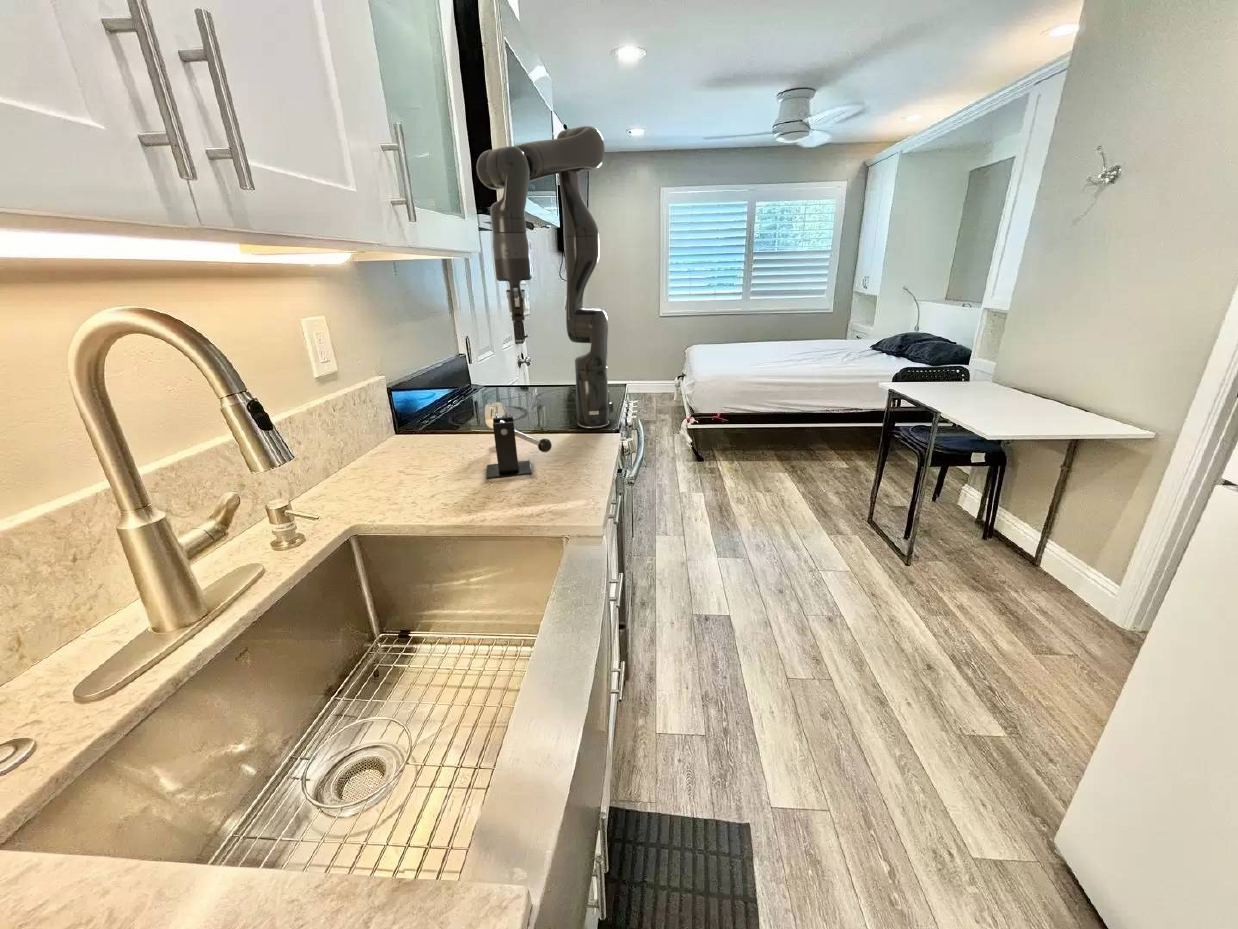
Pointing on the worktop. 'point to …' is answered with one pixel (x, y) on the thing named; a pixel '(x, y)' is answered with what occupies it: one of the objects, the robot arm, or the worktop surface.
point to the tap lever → (534, 441)
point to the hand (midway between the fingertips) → (520, 339)
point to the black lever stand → (506, 452)
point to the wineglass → (494, 412)
